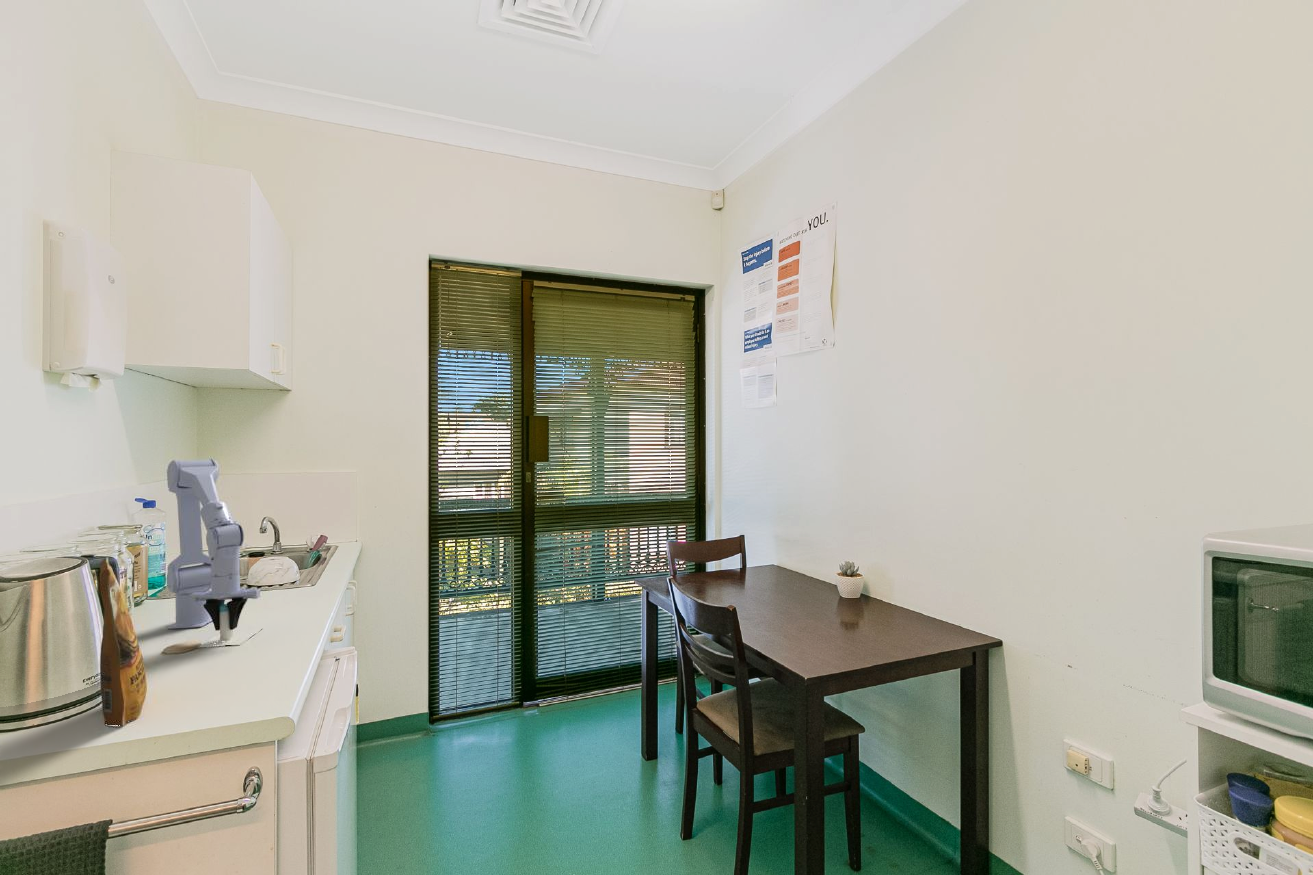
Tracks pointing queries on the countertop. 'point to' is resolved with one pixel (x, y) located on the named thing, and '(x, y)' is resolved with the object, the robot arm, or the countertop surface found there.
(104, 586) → the pancake mix bag
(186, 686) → the countertop surface
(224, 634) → the marker
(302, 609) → the countertop surface
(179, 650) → the coaster
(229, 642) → the paper
